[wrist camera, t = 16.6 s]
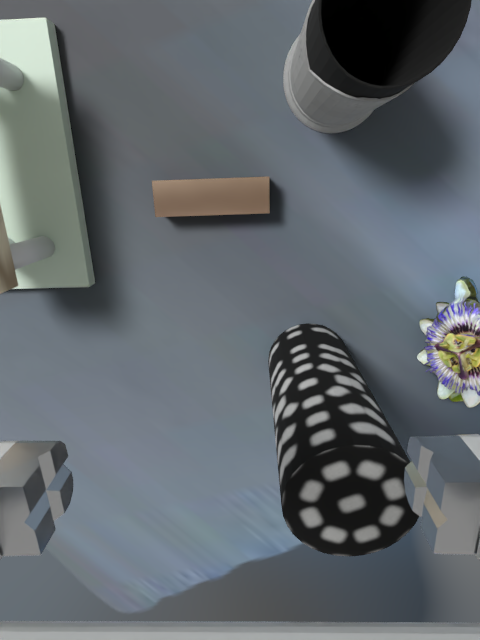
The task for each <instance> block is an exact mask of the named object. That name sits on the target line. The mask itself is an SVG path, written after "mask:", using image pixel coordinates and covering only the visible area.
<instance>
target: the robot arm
mask: <svg viewBox="0 0 480 640" xmlns="http://www.w3.org/2000/svg"><path fill="white" fill-rule="evenodd" d="M407 453H408V455H409V456H410V458H411V460H412V461H411V462H410V463H409V464H408V465H407V466H406V467H405V473H404V485H405V493H406V496H407V499H408V502H409V504H410V507H411V509H412V511H413V512H415V513H416V514H417V515H419V516H420V517H422V520H421V529H422V531H423V533H424V535H425V537H426V539H427V541H428V543H429V545H430V547H431V549H432V551H433V553H434V554H463V555H476V558H478V559H479V560H480V435H479V434H465V435H455V436H416V437H410V439H409V442H408V447H407ZM67 457H68V454H67V450H66V446H65V444H64V443H62V442H61V441H0V560H1V558H2V557H1V556H28V555H41V554H42V552H43V550H44V549H45V547H46V545H47V543H48V542H49V540H50V538H51V536H52V535H53V533H54V531H55V525H54V521H55V520H56V519H57V518H59V517H60V516H61V515H63V514H64V513H65V511H66V509H67V508H68V506H69V504H70V501H71V497H72V493H73V477H72V472H71V471H70V470H69V469H68V468H67V467H66V466H65V465H64V464H63V463H64V462H65V460H66V459H67ZM0 640H480V623H444V622H437V623H436V622H435V623H433V622H429V623H427V622H425V623H424V622H137V621H136V622H135V621H134V622H132V621H127V622H125V621H124V622H123V621H111V622H110V621H106V622H105V621H101V622H100V621H0Z"/></svg>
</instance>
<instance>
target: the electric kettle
mask: <svg viewBox="0 0 480 640" xmlns="http://www.w3.org/2000/svg"><path fill="white" fill-rule="evenodd" d="M470 7H471V0H313V1H312V3H311V5H310V7H309V10H308V13H307V16H306V19H305V22H304V25H303V28H302V31H301V34H300V35H299V36H298V37H297V39H296V40H295V42H294V43H293V45H292V47H291V49H290V51H289V53H288V56H287V59H286V62H285V67H284V73H283V85H284V91H285V96H286V99H287V102H288V104H289V106H290V108H291V110H292V112H293V113H294V114H295V116H296V117H297V118H298V119H299V120H300V121H301V122H302V123H303V124H304V125H306V126H307V127H309V128H311V129H313V130H315V131H318V132H322V133H340V132H344V131H347V130H350V129H352V128H354V127H356V126H357V125H359V124H360V123H362V122H363V121H364V120H365V119H366V118H368V117H369V116H370V114H371V113H372V112H373V111H374V110H375V109H376V108H378V107H380V106H382V105H383V104H385V103H387V102H389V101H390V100H392V99H394V98H396V97H397V96H399V95H401V94H402V93H404V92H405V91H407V90H408V89H409V88H410V87H411V86H412V85H413V84H414V83H415V82H417V81H418V80H420V79H421V78H423V77H424V76H426V75H428V74H429V73H431V72H432V71H433V70H434V69H435V68H436V67H437V66H439V65H440V64H441V63H442V62H443V61H444V59H445V58H446V57H447V56H448V55H449V53H450V52H451V51H452V49H453V48H454V46H455V44H456V43H457V41H458V40H459V38H460V36H461V34H462V31H463V29H464V27H465V24H466V22H467V18H468V14H469V11H470Z"/></svg>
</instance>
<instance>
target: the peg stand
mask: <svg viewBox="0 0 480 640" xmlns="http://www.w3.org/2000/svg"><path fill="white" fill-rule="evenodd" d="M0 205H1V209H2V214H3V218H4V223H5V227H6V232H7V236H8V241H9V245H10V250H11V254H12V259H13V263H14V268H15V272H16V277H17V281H18V286H17V287H15V288H12V289H30V288H67V287H90V286H92V285H93V284H95V278H94V272H93V265H92V259H91V253H90V246H89V240H88V234H87V227H86V221H85V215H84V208H83V202H82V195H81V189H80V183H79V176H78V170H77V164H76V157H75V151H74V145H73V138H72V132H71V125H70V119H69V113H68V106H67V100H66V94H65V87H64V81H63V75H62V68H61V62H60V55H59V49H58V43H57V36H56V30H55V24H53V23H52V22H51V21H50V20H48V19H47V18H29V19H10V20H0Z"/></svg>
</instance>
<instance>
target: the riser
mask: <svg viewBox="0 0 480 640" xmlns="http://www.w3.org/2000/svg"><path fill="white" fill-rule="evenodd" d="M152 187H153V197H154V207H155V217H173V216H203V215H233V214H263V213H270V201H269V177H246V178H218V179H191V180H164V181H152Z"/></svg>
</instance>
